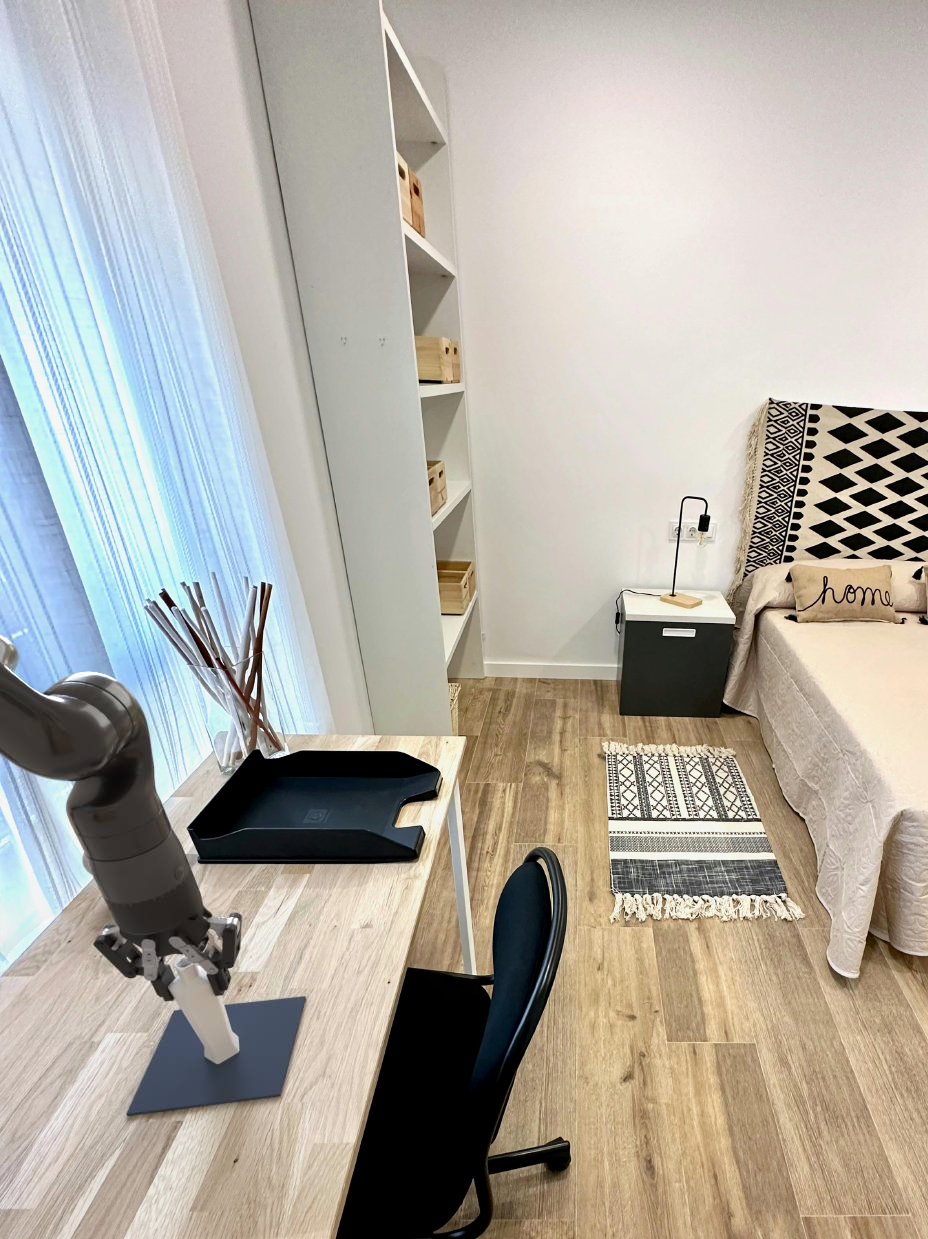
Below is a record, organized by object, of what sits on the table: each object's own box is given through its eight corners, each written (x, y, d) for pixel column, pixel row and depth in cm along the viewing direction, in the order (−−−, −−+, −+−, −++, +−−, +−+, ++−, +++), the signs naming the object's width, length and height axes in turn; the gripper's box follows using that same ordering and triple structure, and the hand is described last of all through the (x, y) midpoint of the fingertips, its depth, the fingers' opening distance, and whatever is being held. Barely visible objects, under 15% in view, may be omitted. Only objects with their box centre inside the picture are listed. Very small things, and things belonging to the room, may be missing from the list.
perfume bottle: (200, 1042, 79) (160, 955, 71) (240, 1028, 81) (205, 942, 73) (201, 1072, 76) (158, 985, 68) (242, 1058, 78) (205, 970, 70)
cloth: (127, 1116, 72) (125, 1114, 72) (174, 1012, 83) (173, 1010, 83) (280, 1096, 74) (279, 1094, 74) (306, 998, 86) (305, 995, 86)
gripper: (234, 846, 68) (273, 960, 77) (84, 857, 66) (142, 973, 75) (211, 894, 62) (256, 1012, 71) (43, 908, 60) (112, 1028, 69)
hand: (197, 992), depth 73 cm, fingers closed on perfume bottle, 4 cm apart
